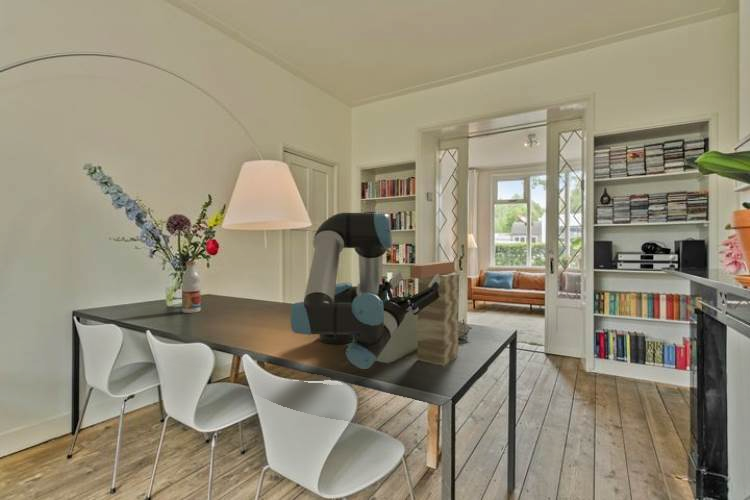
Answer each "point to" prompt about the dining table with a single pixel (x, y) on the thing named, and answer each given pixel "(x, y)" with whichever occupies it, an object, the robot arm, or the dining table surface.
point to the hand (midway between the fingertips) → (419, 275)
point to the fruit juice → (191, 289)
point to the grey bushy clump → (463, 329)
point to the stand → (439, 322)
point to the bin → (401, 340)
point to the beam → (431, 269)
